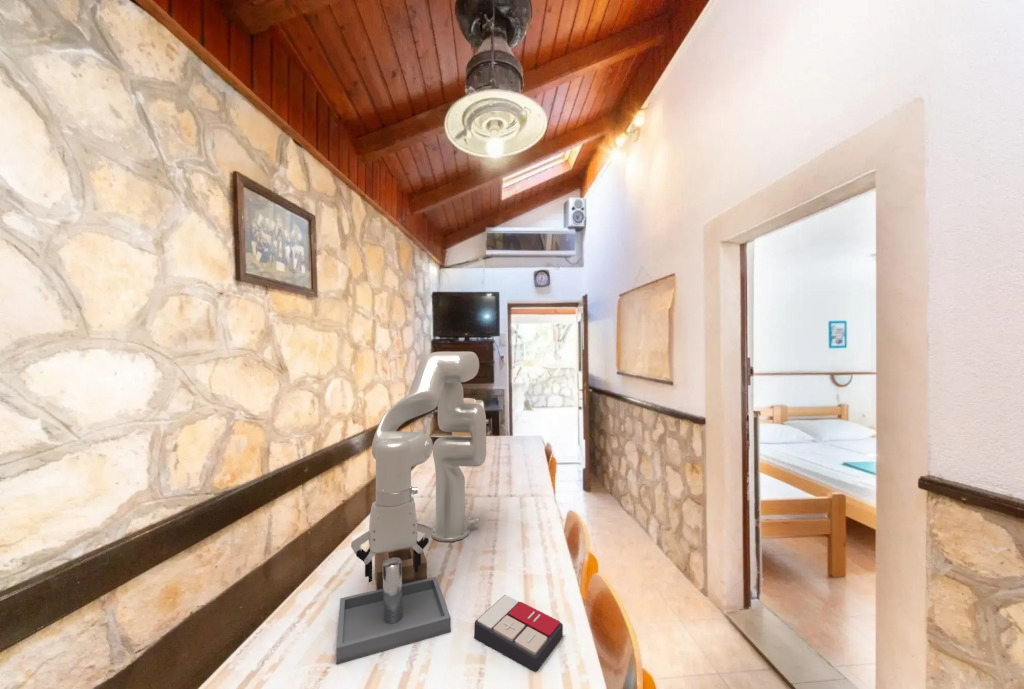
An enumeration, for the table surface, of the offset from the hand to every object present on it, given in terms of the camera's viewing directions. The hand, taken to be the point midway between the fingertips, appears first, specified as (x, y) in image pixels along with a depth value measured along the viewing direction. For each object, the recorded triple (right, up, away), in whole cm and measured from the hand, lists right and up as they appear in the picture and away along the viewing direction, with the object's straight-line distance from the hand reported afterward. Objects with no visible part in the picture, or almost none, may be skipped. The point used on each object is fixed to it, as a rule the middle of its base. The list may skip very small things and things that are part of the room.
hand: (393, 573), depth 84 cm
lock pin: (0, -10, 0) cm, 10 cm away
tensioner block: (-3, -11, +16) cm, 19 cm away
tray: (0, -10, 0) cm, 10 cm away
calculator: (+28, -11, -5) cm, 30 cm away
